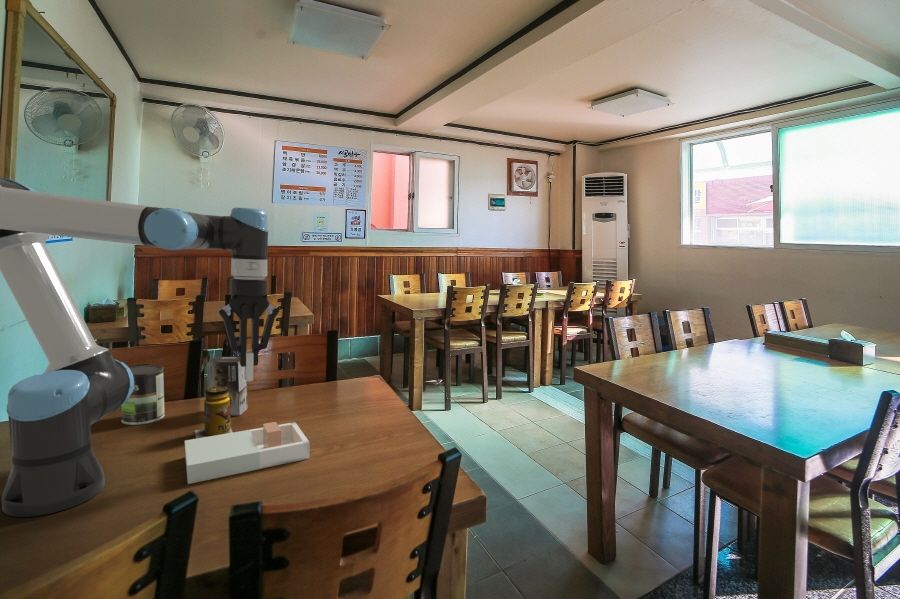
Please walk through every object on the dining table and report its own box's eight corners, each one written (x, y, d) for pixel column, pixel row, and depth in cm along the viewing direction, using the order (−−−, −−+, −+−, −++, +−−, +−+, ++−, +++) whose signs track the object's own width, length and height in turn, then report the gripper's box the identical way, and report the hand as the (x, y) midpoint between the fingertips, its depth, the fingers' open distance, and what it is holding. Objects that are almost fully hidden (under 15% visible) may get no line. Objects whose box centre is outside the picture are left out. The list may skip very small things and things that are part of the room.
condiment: (233, 435, 120) (233, 390, 118) (197, 441, 115) (195, 395, 114) (229, 425, 126) (228, 383, 124) (194, 431, 121) (193, 387, 120)
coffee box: (248, 408, 139) (247, 356, 137) (239, 416, 133) (238, 361, 131) (217, 408, 139) (216, 355, 137) (207, 415, 132) (206, 361, 130)
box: (259, 468, 102) (259, 451, 102) (250, 445, 114) (249, 429, 114) (309, 458, 108) (309, 442, 108) (295, 436, 120) (295, 422, 119)
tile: (267, 432, 106) (281, 430, 108) (263, 423, 111) (276, 421, 113) (267, 457, 107) (281, 454, 108) (263, 447, 112) (276, 445, 113)
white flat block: (187, 484, 95) (187, 465, 94) (185, 457, 107) (184, 440, 106) (259, 468, 102) (259, 451, 102) (250, 445, 114) (249, 429, 114)
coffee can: (140, 427, 122) (138, 376, 121) (112, 422, 125) (109, 372, 124) (174, 414, 132) (172, 367, 131) (147, 409, 135) (145, 363, 134)
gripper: (219, 278, 97) (219, 387, 99) (283, 279, 104) (281, 380, 106) (215, 276, 103) (215, 378, 105) (276, 276, 110) (274, 372, 112)
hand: (248, 379), depth 106 cm, fingers closed
